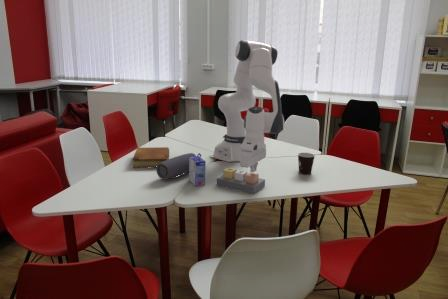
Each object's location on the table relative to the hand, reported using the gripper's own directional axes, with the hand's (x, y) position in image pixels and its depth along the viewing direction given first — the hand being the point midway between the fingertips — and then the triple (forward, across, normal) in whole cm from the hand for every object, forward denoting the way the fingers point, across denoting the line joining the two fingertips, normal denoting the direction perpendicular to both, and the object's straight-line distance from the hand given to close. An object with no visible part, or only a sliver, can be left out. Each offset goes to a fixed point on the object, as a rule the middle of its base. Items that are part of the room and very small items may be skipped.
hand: (253, 171), depth 179 cm
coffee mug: (+9, -38, +13) cm, 41 cm away
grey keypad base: (+8, 0, -6) cm, 11 cm away
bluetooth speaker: (+9, +5, -40) cm, 42 cm away
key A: (+6, 0, -12) cm, 14 cm away
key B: (+6, 0, -6) cm, 9 cm away
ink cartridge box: (+9, +8, -26) cm, 29 cm away
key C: (+6, 0, 0) cm, 6 cm away
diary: (+9, -5, -66) cm, 67 cm away
